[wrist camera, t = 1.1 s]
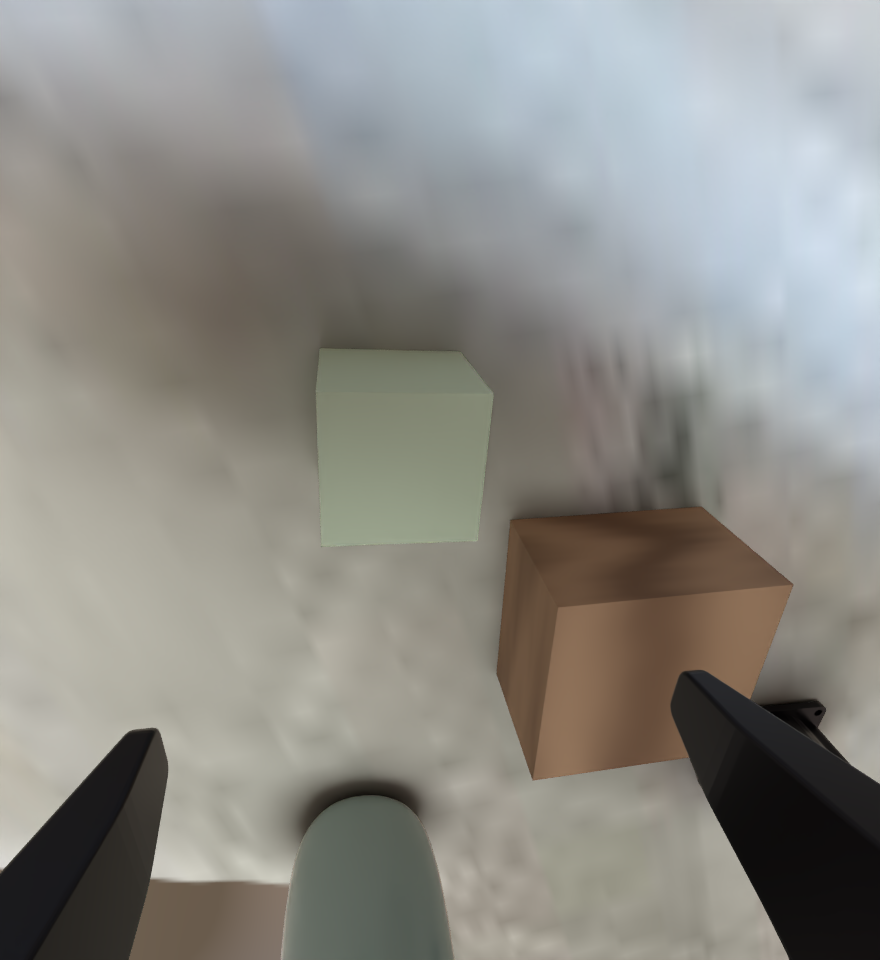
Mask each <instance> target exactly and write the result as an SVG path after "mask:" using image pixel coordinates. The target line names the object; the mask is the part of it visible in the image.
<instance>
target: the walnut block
mask: <svg viewBox="0 0 880 960" xmlns="http://www.w3.org/2000/svg"><path fill="white" fill-rule="evenodd" d="M792 587H793V584H792V583H791V582H790V581H789V580H788V579H786V578H785V577H784V576H783V575H782V574H780V573H779V572H778V571H777V570H776V569H775V568H773V567H772V566H771V565H770V564H769V563H767V562H766V561H765V560H764V559H763V558H762V557H760V556H759V555H758V554H757V553H756V552H754V551H753V550H752V549H751V548H750V547H749V546H747V545H746V544H745V543H744V542H743V541H741V540H740V539H739V538H738V537H737V536H736V535H734V534H733V533H732V532H731V531H730V530H728V529H727V528H726V527H725V526H724V525H723V524H721V523H720V522H719V521H718V520H717V519H715V518H714V517H713V516H712V515H711V514H710V513H708V512H707V511H706V510H705V509H704V508H703V507H689V508H675V509H661V510H646V511H632V512H617V513H603V514H589V515H574V516H560V517H545V518H531V519H517V520H510V531H509V542H508V553H507V564H506V575H505V586H504V597H503V608H502V619H501V630H500V641H499V652H498V663H497V677H498V680H499V682H500V685H501V688H502V691H503V694H504V697H505V700H506V703H507V706H508V709H509V712H510V715H511V718H512V721H513V724H514V727H515V730H516V732H517V735H518V738H519V741H520V744H521V747H522V750H523V753H524V756H525V759H526V762H527V765H528V768H529V771H530V774H531V777H532V779H533V780H539V779H546V778H553V777H560V776H566V775H573V774H580V773H587V772H593V771H600V770H607V769H614V768H620V767H627V766H634V765H641V764H648V763H654V762H661V761H668V760H675V759H681V758H688V757H689V756H688V753H687V751H686V749H685V746H684V744H683V741H682V739H681V737H680V734H679V732H678V729H677V727H676V725H675V722H674V720H673V717H672V714H671V709H670V702H671V698H672V695H673V692H674V689H675V686H676V683H677V680H678V677H679V675H680V674H681V673H682V672H684V671H690V670H704V671H707V672H708V673H710V674H711V675H713V676H715V677H716V678H718V679H719V680H721V681H722V682H724V683H725V684H727V685H728V686H730V687H731V688H733V689H735V690H736V691H738V692H739V693H741V694H742V695H744V696H745V697H747V698H748V699H751V696H752V693H753V691H754V688H755V685H756V683H757V680H758V677H759V675H760V672H761V669H762V667H763V664H764V661H765V659H766V656H767V653H768V651H769V648H770V646H771V643H772V640H773V638H774V635H775V632H776V630H777V627H778V624H779V622H780V619H781V616H782V614H783V611H784V608H785V606H786V603H787V600H788V598H789V595H790V593H791V590H792Z"/></svg>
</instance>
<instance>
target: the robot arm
mask: <svg viewBox="0 0 880 960" xmlns="http://www.w3.org/2000/svg"><path fill="white" fill-rule="evenodd" d="M670 709H671V714H672V717H673V720H674V722H675V725H676V727H677V729H678V732H679V734H680V737H681V739H682V741H683V744H684V746H685V749H686V751H687V753H688V756H689V758H690V761H691V763H692V765H693V768H694V770H695V773H696V775H697V777H698V782H699V784H700V786H701V787H702V789H703V791H704V793H705V796H706V798H707V800H708V802H709V804H710V806H711V808H712V810H713V812H714V814H715V816H716V817H717V819H718V821H719V823H720V825H721V827H722V829H723V831H724V833H725V834H726V836H727V838H728V840H729V842H730V844H731V846H732V848H733V850H734V851H735V853H736V855H737V857H738V859H739V861H740V863H741V865H742V867H743V868H744V870H745V872H746V874H747V876H748V878H749V880H750V882H751V884H752V885H753V887H754V889H755V891H756V893H757V895H758V897H759V899H760V900H761V902H762V904H763V906H764V908H765V910H766V912H767V914H768V916H769V918H770V920H771V922H772V924H773V926H774V928H775V930H776V932H777V934H778V936H779V938H780V940H781V942H782V945H783V947H784V949H785V951H786V953H787V955H788V957H789V960H880V784H879V783H878V782H876V781H875V780H873V779H871V778H870V777H868V776H867V775H865V774H864V773H862V772H861V771H859V770H858V769H856V768H855V767H853V766H851V765H850V764H849V762H848V761H847V760H846V759H845V758H844V757H843V756H842V755H841V754H840V753H839V751H838V750H837V749H836V748H835V747H834V746H833V745H832V744H831V743H830V741H829V740H828V739H827V738H826V737H825V736H824V735H823V734H822V733H821V732H820V730H819V729H818V728H817V727H818V726H819V724H820V722H821V720H822V718H823V716H824V714H825V712H826V708H825V707H824V706H823V705H822V704H821V703H820V702H819V701H814V702H804V703H794V704H784V705H774V706H764V707H761V706H759V705H758V704H756V703H755V702H753V701H751V700H750V699H748V698H747V697H745V696H744V695H742V694H741V693H739V692H738V691H736V690H735V689H733V688H731V687H730V686H728V685H727V684H725V683H724V682H722V681H721V680H719V679H718V678H716V677H715V676H713V675H711V674H710V673H708V672H707V671H704V670H690V671H684V672H682V673H681V674H680V675H679V677H678V680H677V683H676V686H675V689H674V692H673V695H672V698H671V702H670ZM167 778H168V761H167V757H166V753H165V749H164V745H163V742H162V738H161V734H160V732H159V730H158V729H156V728H146V729H136V730H131V731H129V732H128V733H127V734H125V735H124V736H123V738H122V739H121V740H120V741H119V742H118V743H117V744H116V745H115V746H114V748H113V749H112V750H111V751H110V752H109V753H108V754H107V755H106V756H105V758H104V759H103V760H102V761H101V762H100V763H99V764H98V765H97V766H96V768H95V769H94V770H93V771H92V772H91V773H90V774H89V775H88V776H87V777H86V779H85V780H84V781H83V782H82V783H81V784H80V785H79V786H78V787H77V789H76V790H75V791H74V792H73V793H72V794H71V795H70V796H69V797H68V799H67V800H66V801H65V802H64V803H63V804H62V805H61V806H60V807H59V809H58V810H57V811H56V812H55V813H54V814H53V815H52V816H51V817H50V819H49V820H48V821H47V822H46V823H45V824H44V825H43V826H42V827H41V829H40V830H39V831H38V832H37V833H36V834H35V835H34V836H33V837H32V838H31V840H30V841H29V842H28V843H27V844H26V845H25V846H24V847H23V848H22V850H21V851H20V852H19V853H18V854H17V855H16V856H15V857H14V858H13V860H12V861H11V862H10V863H9V864H8V865H7V866H6V867H5V868H4V870H3V871H2V872H1V873H0V960H129V956H130V952H131V949H132V945H133V942H134V938H135V934H136V931H137V927H138V924H139V920H140V917H141V913H142V909H143V906H144V902H145V898H146V894H147V890H148V886H149V882H150V877H151V872H152V866H153V861H154V855H155V849H156V843H157V837H158V831H159V825H160V819H161V813H162V808H163V802H164V796H165V790H166V784H167Z"/></svg>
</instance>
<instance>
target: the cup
mask: <svg viewBox="0 0 880 960" xmlns="http://www.w3.org/2000/svg"><path fill="white" fill-rule="evenodd" d="M281 960H455V957H454V951H453V944H452V938H451V932H450V926H449V920H448V915H447V909H446V903H445V898H444V893H443V888H442V883H441V879H440V875H439V871H438V867H437V863H436V860H435V856H434V853H433V849H432V846H431V843H430V840H429V837H428V835H427V832H426V830H425V828H424V826H423V824H422V822H421V821H420V819H419V818H418V817H417V815H416V814H415V813H414V812H413V810H412V809H410V808H409V807H408V806H406V805H405V804H403V803H402V802H400V801H398V800H395V799H393V798H389V797H385V796H379V795H360V796H353V797H349V798H345V799H343V800H340V801H338V802H336V803H334V804H332V805H330V806H329V807H327V808H326V809H324V810H323V811H322V812H321V813H320V814H319V815H318V816H317V817H316V818H315V819H314V821H313V822H312V823H311V825H310V826H309V828H308V829H307V831H306V833H305V834H304V837H303V839H302V841H301V844H300V846H299V849H298V852H297V854H296V858H295V862H294V865H293V869H292V875H291V880H290V885H289V892H288V898H287V906H286V912H285V921H284V930H283V941H282V951H281Z"/></svg>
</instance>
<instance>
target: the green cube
mask: <svg viewBox="0 0 880 960" xmlns="http://www.w3.org/2000/svg"><path fill="white" fill-rule="evenodd" d="M493 397H494V393H493V392H492V391H491V390H490V388H489V387H488V386H487V385H486V383H485V382H484V381H483V380H482V378H481V377H480V376H479V375H478V373H477V372H476V371H475V370H474V368H473V367H472V366H471V365H470V363H469V362H468V361H467V360H466V358H465V357H464V356H463V355H462V353H461V352H457V351H416V350H375V349H334V348H320V352H319V362H318V372H317V383H316V417H317V445H318V473H319V502H320V530H321V547H331V546H358V545H385V544H412V543H439V542H466V541H478V532H479V523H480V514H481V505H482V496H483V487H484V478H485V469H486V460H487V451H488V442H489V433H490V424H491V415H492V406H493Z"/></svg>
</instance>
